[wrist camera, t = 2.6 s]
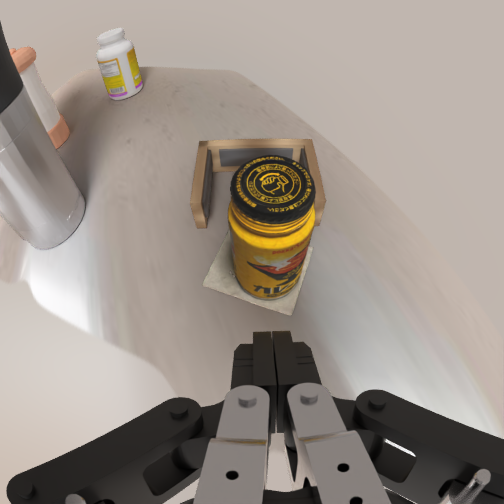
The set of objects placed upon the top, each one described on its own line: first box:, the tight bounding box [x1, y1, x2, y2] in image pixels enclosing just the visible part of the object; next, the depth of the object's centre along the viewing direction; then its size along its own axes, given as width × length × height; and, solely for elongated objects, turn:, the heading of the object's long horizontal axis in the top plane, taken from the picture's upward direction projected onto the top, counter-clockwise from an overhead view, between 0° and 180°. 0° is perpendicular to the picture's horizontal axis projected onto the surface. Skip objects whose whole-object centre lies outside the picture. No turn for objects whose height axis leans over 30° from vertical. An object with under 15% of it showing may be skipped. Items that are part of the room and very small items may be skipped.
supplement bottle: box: [96, 28, 143, 100], centre depth 42 cm, size 7×7×13 cm
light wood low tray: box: [190, 139, 326, 228], centre depth 32 cm, size 12×9×4 cm
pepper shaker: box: [9, 47, 70, 149], centre depth 33 cm, size 7×7×19 cm
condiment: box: [202, 155, 316, 316], centre depth 24 cm, size 7×8×12 cm
